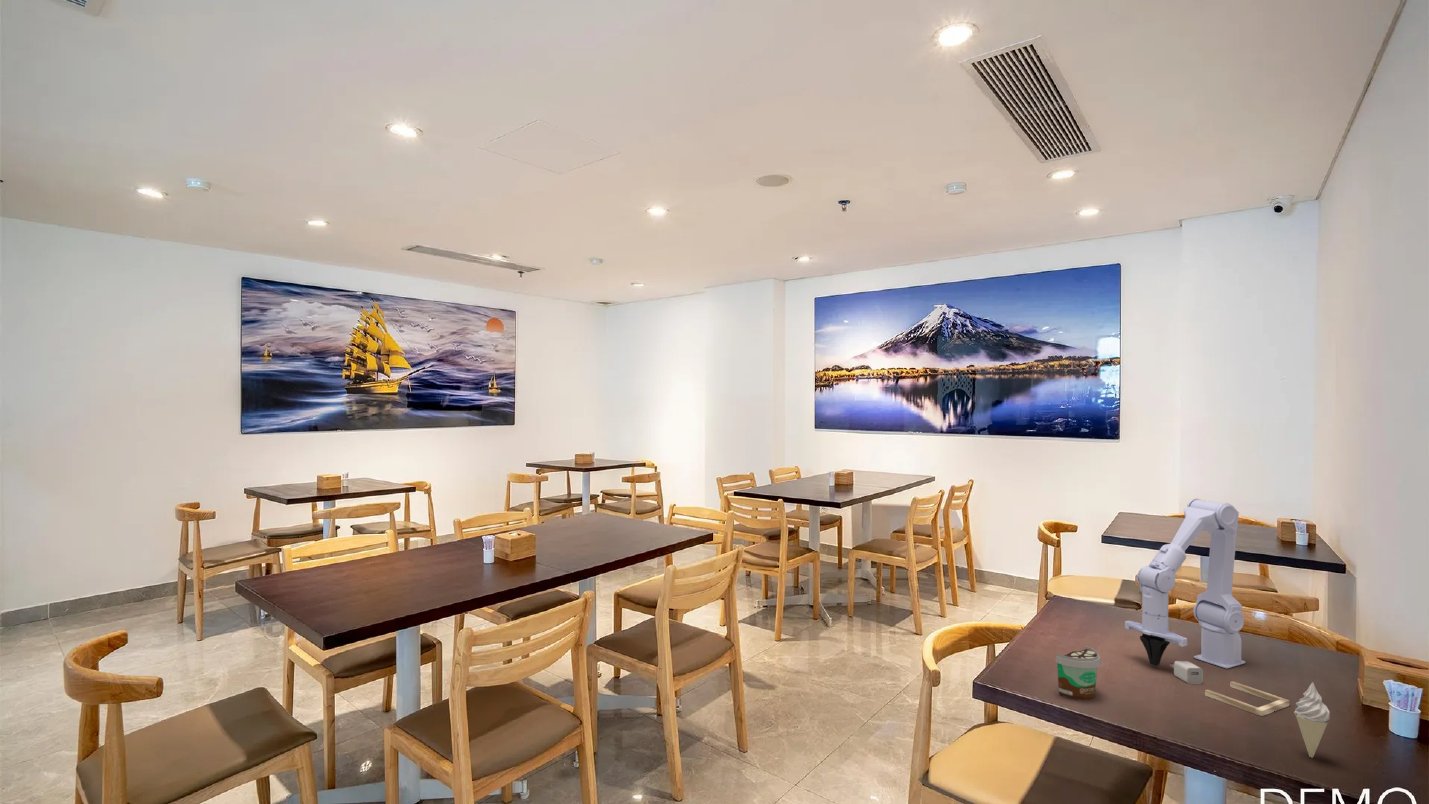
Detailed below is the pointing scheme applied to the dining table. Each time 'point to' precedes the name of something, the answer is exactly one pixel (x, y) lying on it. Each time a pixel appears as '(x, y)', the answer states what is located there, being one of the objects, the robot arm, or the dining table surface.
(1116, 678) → the dining table surface
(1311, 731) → the ice cream cone
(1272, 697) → the charger bay
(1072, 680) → the food container
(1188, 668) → the usb wall charger
